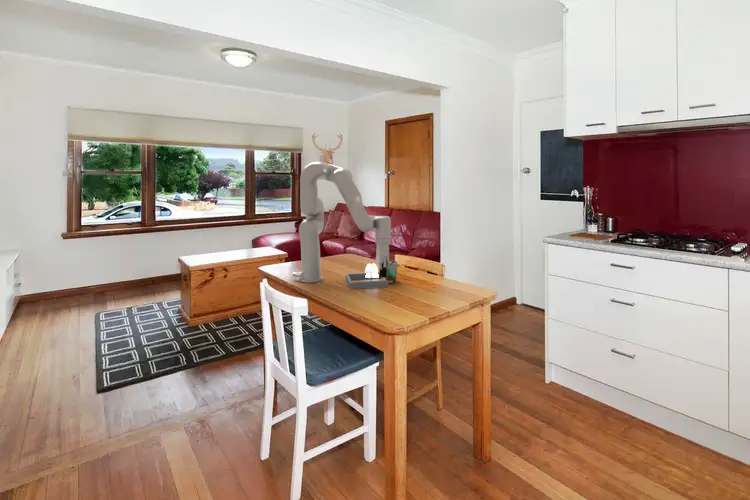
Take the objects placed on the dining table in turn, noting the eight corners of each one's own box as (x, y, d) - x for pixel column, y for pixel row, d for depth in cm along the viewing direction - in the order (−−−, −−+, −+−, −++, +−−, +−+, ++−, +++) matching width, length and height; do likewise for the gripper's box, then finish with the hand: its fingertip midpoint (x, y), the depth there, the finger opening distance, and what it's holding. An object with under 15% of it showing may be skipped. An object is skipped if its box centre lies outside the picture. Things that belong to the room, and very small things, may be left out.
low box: (349, 288, 199) (349, 282, 198) (345, 279, 217) (345, 273, 216) (388, 286, 202) (388, 280, 202) (380, 277, 220) (380, 272, 219)
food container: (399, 284, 205) (399, 264, 204) (387, 285, 205) (387, 265, 203) (397, 278, 218) (397, 259, 216) (385, 278, 217) (385, 260, 215)
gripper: (373, 239, 214) (373, 274, 217) (378, 243, 199) (378, 281, 202) (387, 238, 215) (387, 273, 218) (393, 243, 201) (393, 280, 204)
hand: (382, 277), depth 210 cm, fingers closed
